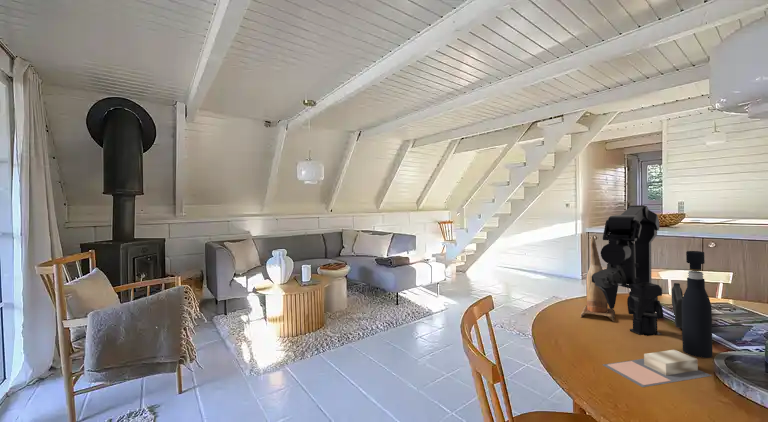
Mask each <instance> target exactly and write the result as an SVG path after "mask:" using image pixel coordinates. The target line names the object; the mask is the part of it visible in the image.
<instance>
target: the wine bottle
mask: <svg viewBox="0 0 768 422" xmlns="http://www.w3.org/2000/svg"><path fill="white" fill-rule="evenodd" d="M685 253H686V254H685V255H686V263H687V264H689V269H688V270H689V271H688V272H687V274H688V275H687V278H686V282H687V283H686V286H687V287H686V289H685V291H684V294H683V299H682V328H681V331H682V333H681V334H682V336H681V337H682V342H681V343H682V353H684V354H686V355H689V356H691V357H695V358H701V359H708V358H712V357H713V313H712V312H713V311H712V310H713V309H712V304H711V300H710V297H709V295H708V293H707V290H706V284H705V283H706V279H705V278H704V272H702V271H703V270H702V265H704V264H705V263H706V262H705V261H706V260H705V252H704V251H700V250H699V251H698V250H687V251H686V252H685Z"/></svg>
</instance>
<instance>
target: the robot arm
mask: <svg viewBox="0 0 768 422" xmlns="http://www.w3.org/2000/svg"><path fill="white" fill-rule="evenodd" d="M626 208H627V209H625V211H623V213H621V214H615V215H610V216H609V217H608V219H606V220H605V225H604V230H603V235H602V240H603V241H608V243H607V244H605V245H604V246H603V247H602V248H601V250H600V257H601V259H602V260H603V261H604V262H605V263H606V268H604V269H603V268H602V269H603V270H601V271H599V272H597V273H594V274H593V275H592V282H593V283H595V285H596V286H598V287H599V288H600V289H601V290H602V291H603V293H604V295H605V298H606V300H607V303H608V308H610V309H615V305H616V300H617V296H618V290H619V287H623V288H627V289H630V291H629V294H628V296H627V301H626V303H627V304H626V305H627V312H628V315H632V316H633V317H632V328H629V332H631V333H635V334H638V335H639V336H645V337H652V336H660V335H663V333H662V332H659V331H658V320H660V319H664V309H663V305H662V304H661V302H660V300H659V298H658V297H661V296H663V288H662V287H661V286H660V285H659V284H656V283H652V242H653V241H654V240H655V238H656V237H657V236H658V231H659V230H660V220H659V216H658V214H657V213H655V212H654V211H652V210H650V209H649V208H648V205H645V204H637V205H635V204H633V205H628V206H627V207H626Z"/></svg>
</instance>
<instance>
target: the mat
mask: <svg viewBox="0 0 768 422" xmlns="http://www.w3.org/2000/svg"><path fill="white" fill-rule="evenodd" d="M602 366H604V367H606V368H607V369H609V370H610V371H613V372H614V373H616V374H618V375H619V376H622V377H623V378H624V379H626V380H629V381H630V382H632V383H633V384H635V385H637V386H639V387H641V388H646V387H653V386H658V385H663V384H669V383H676V382H683V381H688V380H689V381H690V380H696V379H701V378H707V377H712V376H713V375H712V374H709V373H707V372H705V371H703V370H700V369H698V370H697V371H691V372H684V373H678V374H672V375H664V374H662V373H660V372H658V371H656V370H654V369H652V368H650V367H648V366H646V365H644V358H639V359H631V360H625V361H619V362H618V361H617V362H611V363H605V364H602Z"/></svg>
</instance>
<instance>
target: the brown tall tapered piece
mask: <svg viewBox="0 0 768 422" xmlns="http://www.w3.org/2000/svg"><path fill="white" fill-rule="evenodd" d="M600 260H601V259H600V256H599V252H598V247H597V243H596V237H595V235H591V237H590V266H589V268H588V271H587V274H586V305H585V306H583V307H582V308H583V309H582V311H581V313H580V318H582V317H584V315H587V314H589V315H597V316H605V317H608V318H609V319H610V320H612V322H613V323H615V317H616V311H615V308H613V309H610V308H609V305H608V303H607V300H606V298H605V295H604V293H603V291H602V290H601V289H600V288H599V287H598V286H596V285H595V283H593V282H592V275H593V274H594V273H597V272H599V271H601V270H603V267H602V263H601V261H600Z"/></svg>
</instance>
